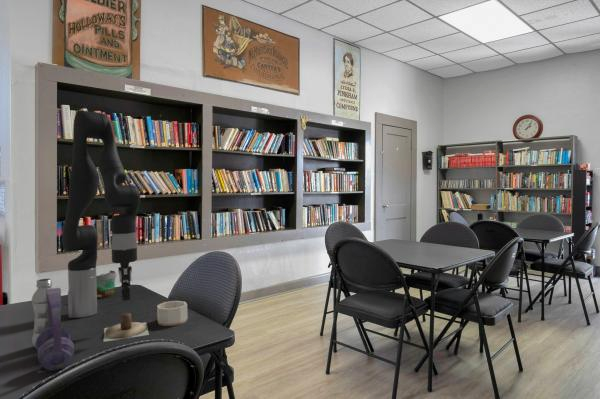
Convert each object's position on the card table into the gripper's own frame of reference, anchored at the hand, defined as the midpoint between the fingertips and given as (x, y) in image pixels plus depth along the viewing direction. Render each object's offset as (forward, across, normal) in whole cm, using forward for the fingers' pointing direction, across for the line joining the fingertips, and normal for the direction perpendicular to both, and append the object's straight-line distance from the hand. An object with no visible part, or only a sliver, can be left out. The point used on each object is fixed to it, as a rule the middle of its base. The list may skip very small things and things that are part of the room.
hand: (125, 296), depth 129 cm
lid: (+11, 0, 0) cm, 11 cm away
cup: (+12, -4, +15) cm, 19 cm away
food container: (+11, -52, -6) cm, 54 cm away
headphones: (+12, +16, -18) cm, 27 cm away
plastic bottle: (+12, +2, -22) cm, 25 cm away
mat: (+12, 0, 0) cm, 12 cm away
